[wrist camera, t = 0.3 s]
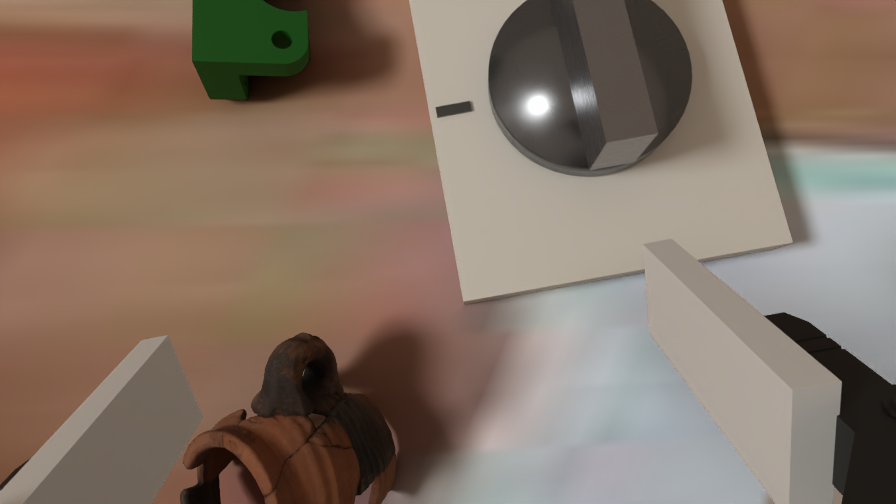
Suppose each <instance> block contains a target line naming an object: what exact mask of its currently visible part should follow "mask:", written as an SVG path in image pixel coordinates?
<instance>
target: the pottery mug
mask: <svg viewBox="0 0 896 504" xmlns="http://www.w3.org/2000/svg"><path fill="white" fill-rule="evenodd" d="M304 369H305V371H304ZM303 371H304V375H303ZM302 375H303V376H302ZM251 408H252V410H253V412H254V413H256V414H258V415H257V416H255V417H250V418H249V419H247V420H245V419H246V415H247V413H246V411H245V410H244V409H241V410H238V411H236V412H234V413H232V414H230V415H228V416H227V417H225V418H223V419H222V420H220V421H219V422H218V423H217V424H216V425H215V426H214V427H213V429H212V430H210V431H206V432H203V433H202V434H200V435H198V436H197V437H196V438H195V439H194V440H193V441H192V442H191V443H190V444H189V446H188V448H187V450H186V452H185V455H184V458H183V464H184V465H185V467H186V469H194V468H196V467H197V478H198V483H197V485H195V486H193V487H190V488H187V489H184V490H183V491H182V492H181V494H180V502H181V504H221V502H220V488H219V474H220V473H221V471H222V470H223V469H225V468H226V466H227V465H228V464H229V463H230V462H231V461H232V460H233V458H234V456H235V455H236V456H237V457H238V458H239V459H240V460H241V461H242V462H243V463H244V465H245V466H246V467H247V468H248V469H249V471H250V472H251V474H252V475H253V477H254V478H255V480H256V482H257V484H258V486H259V488H260V490H261V492H262V494H263V495H264V497H265V504H354V502H355V496H356V495H361V494H362V493H363V492H364V491H365V490H366V489H367V488H368V487H369V485H370V484H371V483H372V488H371V494H370V500H369V504H381V503H382V501H383V500H384V498H385V497H386V495H387V493H388V492H389V491H390V490H391V489H392V487H393V484H394V480H395V476H396V454H395V445H394V441H393V438H392V433H391V431H390V429H389V427H388V425H387V423H386V421H385V419H384V417H383V416H382V414H381V412H380V411H379V410H378V409H377V407H375V406H374V405H373V404H372V403H371V402H370V401H369V400H368V399H367V398H365V397H364V396H363V395H361V394H351V393H348V394H347V393H344V390H343V387H342V385H341V384H340V381H339V377H338V371H337V363H336V359H335V356H334V353H333V352H332V350H331V349H330V348H329V347H328V346H327V345H326V343H325V342H324V341H323V340H322V339H320V338H319V337H317V336H312V335H311V334H307V333H300V334H298V335H296V336H295V337H293V338H290V339H288V340H286V341H284V342H282V343H281V344H279V345H278V346H277V347H276V349H275V350H274V351H273V352H272V354H271V356H270V357H269V360H268V362H267V365H266V368H265V373H264V381H263V385H262V389H261V391H260V392H259V393H258V394H257V395H256V396H255V397H254V399H253V400H252V403H251ZM311 413H314V414H319V415H324V416H326V419H325V420H324V422H323V423H322V424H321V425H320V426H319V427H318V428H315V426H314V424H313V421H312V420H311V419H310V418H309V417H308V415H310V414H311Z"/></svg>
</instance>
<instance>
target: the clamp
mask: <svg viewBox="0 0 896 504" xmlns="http://www.w3.org/2000/svg"><path fill="white" fill-rule="evenodd" d="M308 60H310V43H309V29H308V15H307V10H304V11H286V10H281V9H278V8H275V7H273V6H271V5H269V4H268V3H266V2H265V1H264V0H193V26H192V62H193V64H194V66H195V68H196V70H197V72H198V75H199V77H200V79H201V81H202V83H203V85H204V88H205V90H206V92H207V94H208V96H209V98H210V99H226V100H247V99H248V75H252V76H292V75H295V74H298V73H299V72H301V71H302V70H303V69H304V68H305V67H306V65H307V63H308Z"/></svg>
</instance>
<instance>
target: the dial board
mask: <svg viewBox="0 0 896 504" xmlns="http://www.w3.org/2000/svg"><path fill="white" fill-rule="evenodd" d="M525 1H526V0H409V2H410V8H411V13H412V19H413V24H414V30H415V36H416V41H417V47H418V52H419V58H420V63H421V69H422V74H423V80H424V85H425V91H426V97H427V102H428V108H429V113H430V119H431V124H432V130H433V135H434V141H435V146H436V152H437V158H438V163H439V169H440V174H441V180H442V185H443V191H444V196H445V202H446V208H447V213H448V219H449V224H450V230H451V235H452V241H453V246H454V252H455V257H456V263H457V269H458V274H459V280H460V285H461V291H462V296H463V302H464V305H465V304H471V303H476V302H482V301H488V300H493V299H499V298H504V297H510V296H515V295H521V294H527V293H532V292H538V291H543V290H549V289H554V288H560V287H566V286H571V285H577V284H582V283H588V282H593V281H599V280H605V279H610V278H616V277H621V276H627V275H632V274H638V273H644V272H645V267H644V254H643V244H646V243H651V242H656V241H661V240H667V239H673V240H674V241H675V242H676V243H677V244H679V245H680V246H681V247H682V248H683V249H684V250H686V251H687V252H688V253H689V254H690V255H692V256H693V257H694V258H695V259H696V260H698V261H699V262H705V261H710V260H716V259H721V258H727V257H733V256H738V255H744V254H749V253H755V252H760V251H766V250H772V249H776V248H778V247H781V246H784V245H787V244H790V243H793V241H792V237H791V234H790V231H789V227H788V224H787V220H786V217H785V213H784V210H783V207H782V203H781V200H780V196H779V193H778V190H777V186H776V183H775V179H774V176H773V172H772V169H771V166H770V162H769V159H768V155H767V152H766V148H765V145H764V142H763V138H762V135H761V131H760V128H759V125H758V121H757V118H756V114H755V111H754V107H753V104H752V101H751V97H750V94H749V90H748V87H747V84H746V80H745V77H744V73H743V70H742V66H741V63H740V60H739V56H738V53H737V49H736V46H735V42H734V39H733V36H732V32H731V29H730V25H729V22H728V19H727V15H726V12H725V8H724V5H723V1H722V0H651V1H653V2H654V3H656V4H657V5H658V6H659V7H660V8H661V9H663V10H664V11H665V12H666V14H667V15H668V16H669V17H670V18H671V19H672V20H673V22H674V23H675V25H676V26H677V27H678V29H679V30H680V32H681V34H682V36H683V38H684V40H685V42H686V45H687V48H688V51H689V55H690V59H691V64H692V86H691V93H690V97H689V101H688V104H687V106H686V109H685V112H684V114H683V116H682V117H681V119H680V121H679V123H678V124H677V126H676V127H675V128H674V130H673V131H672V132H671V133H670V135H669V136H668V137H667V138H666V139H665V140H664V141H663V143H662V144H661V145H660V146H659V147H658V148H657V149H656V150H655V151H654V152H653V153H652V154H650V155H649V156H648V157H646V158H645V159H643V160H642V161H640V162H639V163H637V164H635V165H633V166H631V167H629V168H627V169H624V170H622V171H619V172H616V173H612V174H608V175H601V176H593V177H588V176H572V175H566V174H562V173H558V172H554V171H552V170H549V169H547V168H544V167H542V166H540V165H538V164H536V163H534V162H533V161H531V160H529V159H528V158H527V157H525V156H524V155H523V154H521V153H520V152H519V151H518V150H517V149H516V148H515V147H514V146H513V145H512V144H511V143H510V142H509V141H508V140H507V138H506V137H505V136H504V134H503V133H502V131H501V130H500V128H499V126H498V125H497V122H496V120H495V118H494V115H493V113H492V109H491V106H490V102H489V95H488V68H489V60H490V54H491V50H492V47H493V44H494V41H495V39H496V37H497V34H498V32H499V30H500V29H501V27H502V26H503V24H504V22H505V21H506V20H507V19H508V17H509V16H510V15H511V14H512V13H513V11H515V10H516V9H517V8H518V7H519V6H520V5H521V4H522V3H524V2H525Z"/></svg>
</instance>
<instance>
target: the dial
mask: <svg viewBox="0 0 896 504" xmlns="http://www.w3.org/2000/svg"><path fill="white" fill-rule="evenodd" d="M691 86H692V64H691V59H690V55H689V51H688V48H687V45H686V42H685V40H684V38H683V36H682V34H681V32H680V30H679V29H678V27H677V26H676V25H675V23H674V22H673V20H672V19H671V18H670V17H669V16H668V15H667V14H666V12H665V11H664V10H663V9H661V8H660V7H659V6H658V5H657V4H656V3H654V2H653V1H651V0H526V1H525V2H524V3H522V4H521V5H520V6H519V7H518V8H517V9H516V10H515V11H513V13H512V14H511V15H510V16H509V17H508V19H507V20H506V21H505V22H504V24H503V26H502V27H501V29H500V30H499V32H498V34H497V37H496V39H495V41H494V44H493V47H492V50H491V54H490V60H489V68H488V95H489V102H490V106H491V109H492V113H493V115H494V118H495V120H496V122H497V125H498V126H499V128H500V130H501V131H502V133H503V134H504V136H505V137H506V138H507V140H508V141H509V142H510V143H511V144H512V145H513V146H514V147H515V148H516V149H517V150H518V151H519V152H520V153H521V154H523V155H524V156H525V157H527V158H528V159H529V160H531V161H533V162H534V163H536V164H538V165H540V166H542V167H544V168H547V169H549V170H552V171H554V172H558V173H562V174H566V175H572V176H588V177H593V176H601V175H608V174H612V173H616V172H619V171H622V170H624V169H627V168H629V167H631V166H633V165H635V164H637V163H639V162H640V161H642V160H643V159H645V158H646V157H648V156H649V155H650V154H652V153H653V152H654V151H655V150H656V149H657V148H658V147H659V146H660V145H661V144H662V143H663V141H664V140H665V139H666V138H667V137H668V136H669V135H670V133H671V132H672V131H673V130H674V128H675V127H676V126H677V124H678V123H679V121H680V119H681V117H682V116H683V114H684V112H685V109H686V106H687V104H688V101H689V97H690V93H691Z"/></svg>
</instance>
